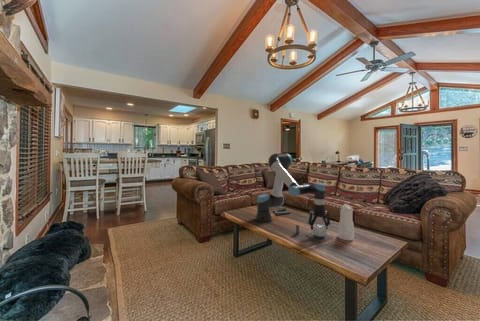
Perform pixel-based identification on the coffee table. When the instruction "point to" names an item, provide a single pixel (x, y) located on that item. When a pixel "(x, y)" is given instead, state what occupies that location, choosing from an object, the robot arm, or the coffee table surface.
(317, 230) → the grey octagonal holder
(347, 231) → the decorative vase
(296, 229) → the stand
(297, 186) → the robot arm
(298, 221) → the coffee table surface
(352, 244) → the coffee table surface
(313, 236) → the square peg base
